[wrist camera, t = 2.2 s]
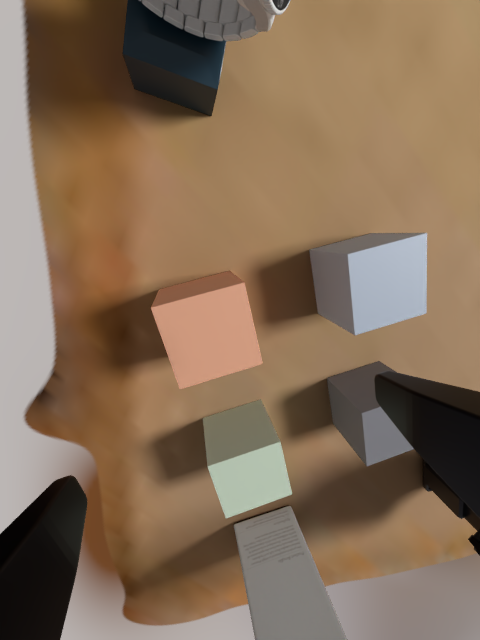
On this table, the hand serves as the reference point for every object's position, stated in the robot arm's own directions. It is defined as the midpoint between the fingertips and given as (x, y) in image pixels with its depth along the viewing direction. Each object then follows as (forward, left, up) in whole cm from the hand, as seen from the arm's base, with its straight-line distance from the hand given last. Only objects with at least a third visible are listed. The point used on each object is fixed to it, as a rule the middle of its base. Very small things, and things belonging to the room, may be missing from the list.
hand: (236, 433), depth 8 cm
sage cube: (0, +11, -13) cm, 17 cm away
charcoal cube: (-11, +11, -13) cm, 20 cm away
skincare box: (0, +23, -13) cm, 26 cm away
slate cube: (-11, 0, -13) cm, 17 cm away
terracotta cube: (0, 0, -13) cm, 13 cm away
